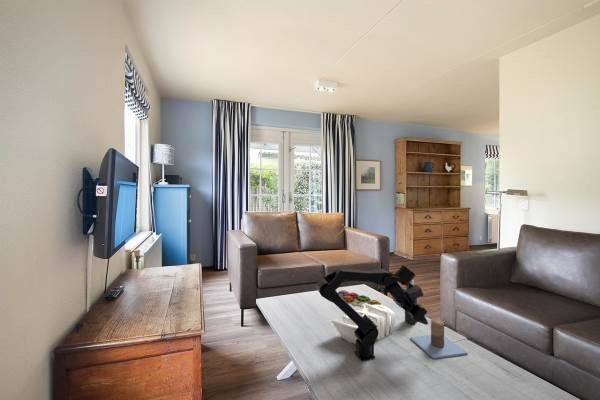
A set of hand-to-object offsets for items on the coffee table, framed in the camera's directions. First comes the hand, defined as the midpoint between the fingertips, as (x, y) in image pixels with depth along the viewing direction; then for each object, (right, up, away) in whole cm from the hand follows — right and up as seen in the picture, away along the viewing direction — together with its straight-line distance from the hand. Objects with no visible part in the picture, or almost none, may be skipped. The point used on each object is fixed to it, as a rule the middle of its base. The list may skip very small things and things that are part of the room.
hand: (420, 318), depth 120 cm
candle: (+6, -13, +26) cm, 30 cm away
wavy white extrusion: (-19, -14, +15) cm, 28 cm away
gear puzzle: (-17, -13, +55) cm, 59 cm away
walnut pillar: (+8, -12, +3) cm, 15 cm away
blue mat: (+8, -13, +3) cm, 16 cm away
